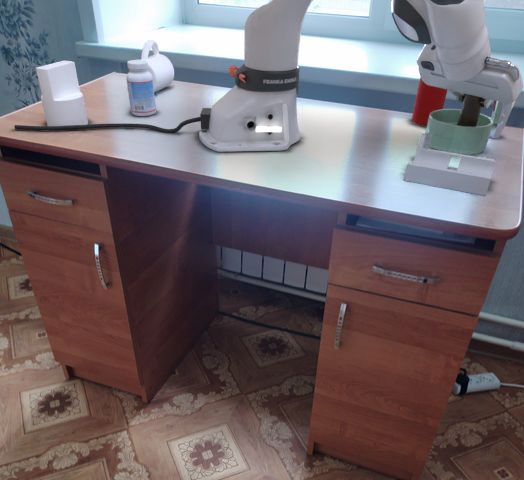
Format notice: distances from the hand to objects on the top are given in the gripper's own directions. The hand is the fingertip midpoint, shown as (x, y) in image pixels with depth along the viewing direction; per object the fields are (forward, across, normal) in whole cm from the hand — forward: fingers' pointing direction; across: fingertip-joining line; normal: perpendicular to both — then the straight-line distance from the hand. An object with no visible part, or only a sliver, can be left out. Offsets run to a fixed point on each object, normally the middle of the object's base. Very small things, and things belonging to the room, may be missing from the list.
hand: (474, 101), depth 105 cm
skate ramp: (-5, -7, +19) cm, 21 cm away
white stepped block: (-34, +68, +48) cm, 90 cm away
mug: (-12, +80, +25) cm, 84 cm away
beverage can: (+13, +15, 0) cm, 20 cm away
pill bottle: (-22, +64, +35) cm, 76 cm away
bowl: (+6, +2, +7) cm, 9 cm away
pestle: (+4, 0, +5) cm, 6 cm away
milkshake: (+16, -1, -3) cm, 17 cm away
